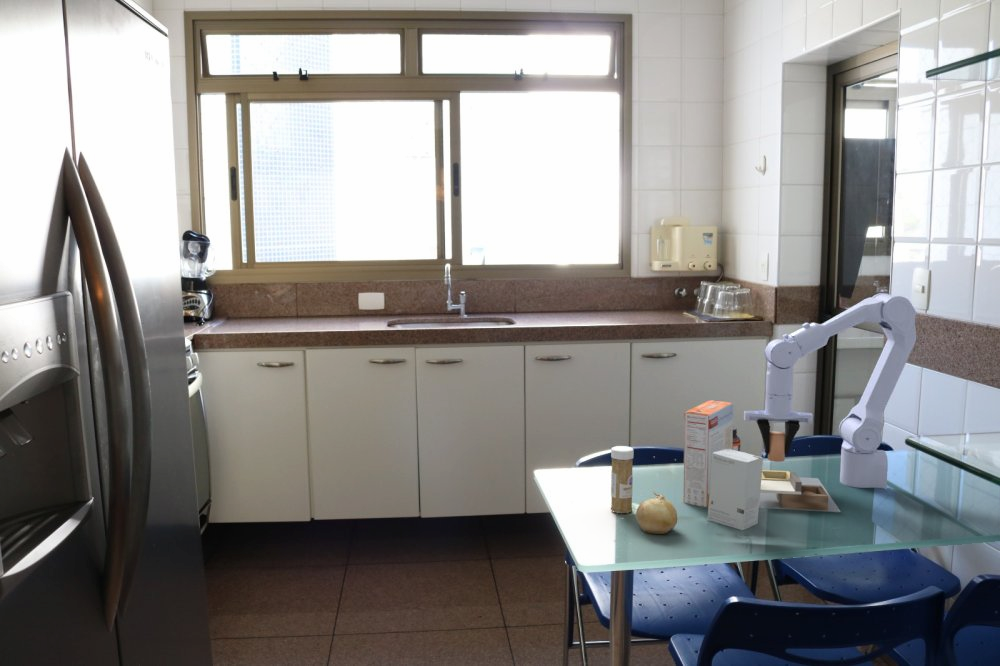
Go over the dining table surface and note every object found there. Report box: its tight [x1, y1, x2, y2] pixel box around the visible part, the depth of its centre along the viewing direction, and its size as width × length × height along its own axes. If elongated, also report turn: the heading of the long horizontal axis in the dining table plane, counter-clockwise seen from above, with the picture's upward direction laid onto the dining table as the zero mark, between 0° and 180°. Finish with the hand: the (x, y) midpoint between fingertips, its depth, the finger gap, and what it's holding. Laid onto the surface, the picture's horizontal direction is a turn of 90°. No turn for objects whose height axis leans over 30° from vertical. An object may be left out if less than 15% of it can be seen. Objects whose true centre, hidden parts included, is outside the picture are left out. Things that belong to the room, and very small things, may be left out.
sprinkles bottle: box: [610, 445, 635, 514], centre depth 175 cm, size 5×5×14 cm
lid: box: [760, 471, 802, 495], centre depth 177 cm, size 8×7×3 cm
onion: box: [635, 491, 679, 535], centre depth 165 cm, size 8×8×7 cm
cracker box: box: [682, 399, 734, 509], centre depth 181 cm, size 14×6×21 cm, turn 145°
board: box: [759, 469, 842, 513], centre depth 184 cm, size 16×23×3 cm
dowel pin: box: [767, 431, 786, 463], centre depth 191 cm, size 4×4×6 cm
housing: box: [776, 485, 828, 511], centre depth 177 cm, size 9×7×3 cm
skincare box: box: [706, 449, 764, 531], centre depth 166 cm, size 8×6×15 cm
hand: (776, 452), depth 191 cm, fingers closed on dowel pin, 4 cm apart
